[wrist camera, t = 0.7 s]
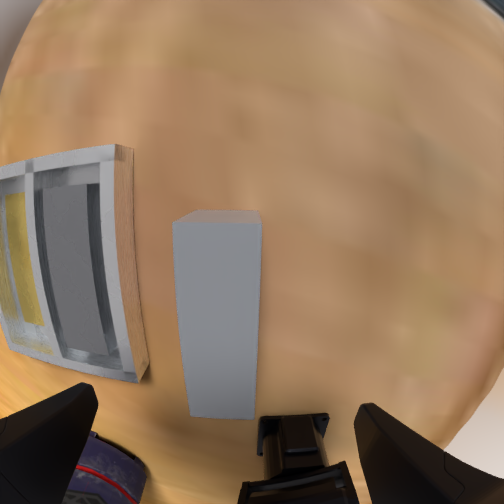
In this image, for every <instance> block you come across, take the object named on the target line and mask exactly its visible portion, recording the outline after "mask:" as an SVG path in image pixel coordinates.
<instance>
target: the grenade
mask: <svg viewBox="0 0 504 504" xmlns="http://www.w3.org/2000/svg"><path fill="white" fill-rule="evenodd" d="M96 434H97V433H96V432H93V431H90V434H89V437H88V440H87V443H86V445H85V447H84V450H83V452H82V454H81V457H80V459H79V461H78V464H77V466H76V469H75V471H74V474H73V476H72V479H71V481H70V484H69V486H68V489H67V491H66V494H65V497H64V499H63V502H62V504H139V503H140V500H141V496H142V493H143V489H144V486H145V482H146V478H147V476H146V474H145V472H144V465H143V463H142V462H141V461H140V460H139V459H138V458H137V457H136V458H135V459H134V460H133V459H131V458H130V457H129V456H127V455H126V454H124V453H123V452H121V451H119V450H118V449H116V448H114V447H112V446H111V445H109V444H107V443H105V442H103V441H101V440H98V439H96V438H95V436H96Z"/></svg>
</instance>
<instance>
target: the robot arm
mask: <svg viewBox="0 0 504 504" xmlns="http://www.w3.org/2000/svg"><path fill="white" fill-rule="evenodd" d="M97 409H98V400H97V397H96V394H95V391H94V388H93V386H92V385H90V384H87V383H83V382H81V383H79V384H77V385H75V386H73V387H70V388H68V389H66V390H64V391H62V392H60V393H58V394H56V395H54V396H51V397H49V398H47V399H45V400H43V401H41V402H38V403H36V404H34V405H32V406H30V407H27V408H25V409H23V410H21V411H18V412H16V413H14V414H11V415H9V416H8V417H4V418H2V419H0V504H62V502H63V499H64V497H65V494H66V491H67V489H68V486H69V484H70V481H71V479H72V476H73V474H74V471H75V469H76V466H77V464H78V461H79V459H80V457H81V454H82V452H83V450H84V447H85V445H86V443H87V440H88V437H89V434H90V431H91V428H92V425H93V421H94V418H95V415H96V412H97ZM329 419H330V417H329V414H327V413H319V414H307V415H289V416H263V417H261V418H260V419H259V431H258V444H257V455H258V456H263V463H264V480H262V481H254V482H250V481H247V482H243V483H242V488H241V490H240V494H239V498H238V503H237V504H359V500H358V497H357V493H356V490H355V487H354V484H353V482H352V479H351V476H350V473H349V470H348V467H347V464H346V461H342V462H339V463H338V464H335V465H331V466H329V463H328V459H327V455H326V451H325V447H324V443H323V438H324V435H325V432H326V428H327V425H328V422H329ZM354 429H355V435H356V440H357V446H358V452H359V458H360V463H361V466H362V470H363V473H364V476H365V480H366V483H367V487H368V490H369V494H370V497H371V501H372V504H504V479H502V478H498V477H496V476H493V475H491V474H488V473H486V472H483V471H481V470H479V469H477V468H474V467H472V466H470V465H468V464H466V463H464V462H462V461H460V460H459V459H457V458H455V457H454V456H452V455H450V454H449V453H447V452H444V450H442V449H441V448H439V447H438V446H436V445H434V444H433V443H431V442H430V441H428V440H427V439H425V438H424V437H422V436H421V435H419V434H418V433H416V432H415V431H413V430H412V429H410V428H409V427H407V426H406V425H404V424H403V423H401V422H400V421H398V420H397V419H396V418H394V417H393V416H391V415H390V414H388V413H387V412H385V411H384V410H383V409H381V408H380V407H378V406H377V405H376V404H374V403H364V404H361V405H360V407H359V410H358V412H357V415H356V417H355V420H354Z"/></svg>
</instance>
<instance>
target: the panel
mask: <svg viewBox="0 0 504 504" xmlns="http://www.w3.org/2000/svg"><path fill="white" fill-rule="evenodd" d="M172 226H173V255H174V274H175V290H176V303H177V315H178V326H179V336H180V345H181V354H182V362H183V370H184V377H185V384H186V391H187V398H188V404H189V410H190V416H193V417H204V418H218V419H241V420H254V414H255V393H256V372H257V349H258V324H259V299H260V272H261V243H262V222H261V218H260V215H259V212H258V211H253V210H195V211H193V212H191V213H189V214H187V215H185V216H183V217H181V218H180V219H178V220H176V221H174V222H172Z"/></svg>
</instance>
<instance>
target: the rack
mask: <svg viewBox="0 0 504 504" xmlns="http://www.w3.org/2000/svg"><path fill="white" fill-rule="evenodd" d="M0 323H1V326H2V329H3V332H4V335H5V338H6V341H7V344H8V346H9V349H10V350H13V351H16V352H18V353H21V354H24V355H27V356H30V357H33V358H36V359H39V360H42V361H45V362H48V363H51V364H55V365H58V366H62V367H65V368H69V369H73V370H76V371H80V372H84V373H89V374H93V375H97V376H102V377H107V378H111V379H116V380H122V381H127V382H133V383H139V382H140V380H141V378H142V376H143V374H144V372H145V370H146V368H147V366H148V364H149V357H148V352H147V346H146V340H145V334H144V328H143V321H142V314H141V306H140V298H139V290H138V280H137V270H136V258H135V244H134V224H133V148H129V147H125V146H121V145H117V144H110V145H102V146H95V147H89V148H83V149H77V150H71V151H66V152H60V153H55V154H50V155H46V156H41V157H37V158H32V159H28V160H24V161H20V162H16V163H13V164H9V165H5V166H2V167H0Z"/></svg>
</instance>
